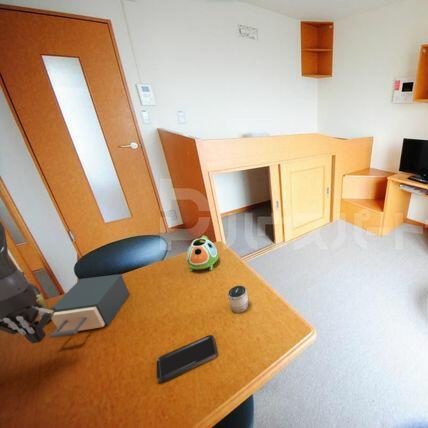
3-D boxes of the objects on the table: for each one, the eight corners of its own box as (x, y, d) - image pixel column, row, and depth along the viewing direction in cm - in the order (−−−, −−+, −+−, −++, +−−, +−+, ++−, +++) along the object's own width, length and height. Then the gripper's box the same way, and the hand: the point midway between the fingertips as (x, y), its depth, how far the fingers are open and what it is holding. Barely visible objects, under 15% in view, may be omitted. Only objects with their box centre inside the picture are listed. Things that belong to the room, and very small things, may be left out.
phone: (156, 357, 68) (212, 333, 75) (157, 360, 68) (213, 335, 75) (156, 383, 62) (217, 354, 69) (158, 385, 62) (218, 356, 69)
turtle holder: (221, 249, 120) (217, 228, 115) (216, 271, 104) (211, 248, 99) (194, 252, 117) (189, 231, 112) (185, 275, 101) (179, 252, 96)
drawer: (92, 342, 72) (81, 324, 68) (46, 350, 69) (33, 331, 66) (124, 296, 89) (116, 280, 85) (88, 301, 86) (79, 284, 83)
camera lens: (250, 300, 89) (248, 283, 86) (246, 313, 84) (243, 296, 80) (233, 300, 89) (230, 284, 86) (228, 313, 83) (224, 296, 80)
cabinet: (108, 325, 78) (97, 304, 74) (62, 332, 76) (48, 310, 72) (129, 293, 91) (121, 274, 87) (91, 299, 89) (80, 278, 85)
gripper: (-51, 306, 51) (-7, 358, 58) (25, 298, 54) (58, 348, 61) (-16, 283, 58) (20, 332, 65) (50, 276, 60) (78, 324, 68)
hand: (39, 340), depth 63 cm, fingers closed
